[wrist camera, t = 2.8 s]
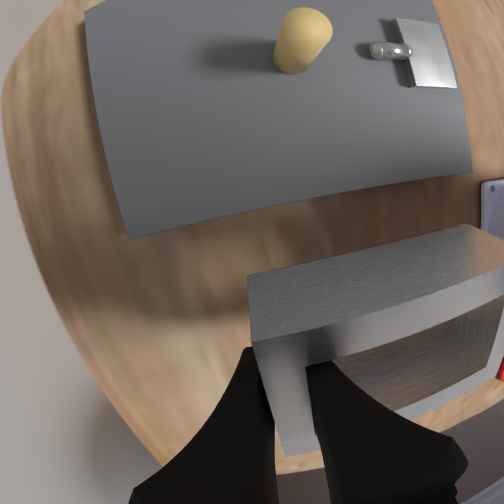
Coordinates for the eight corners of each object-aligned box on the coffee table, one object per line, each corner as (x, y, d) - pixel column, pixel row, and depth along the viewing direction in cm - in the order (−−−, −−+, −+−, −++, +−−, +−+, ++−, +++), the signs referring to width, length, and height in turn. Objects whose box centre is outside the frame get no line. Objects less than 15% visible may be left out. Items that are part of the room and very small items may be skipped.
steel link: (466, 223, 10) (528, 253, 7) (455, 331, 12) (495, 375, 9) (246, 275, 11) (251, 342, 7) (275, 387, 13) (285, 456, 9)
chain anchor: (431, 27, 10) (439, 23, 9) (449, 89, 12) (459, 87, 11) (355, 20, 11) (361, 13, 10) (375, 88, 12) (383, 85, 11)
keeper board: (406, -24, 10) (446, -57, 5) (458, 169, 15) (518, 183, 9) (95, 19, 11) (48, -13, 6) (138, 231, 16) (94, 269, 11)
